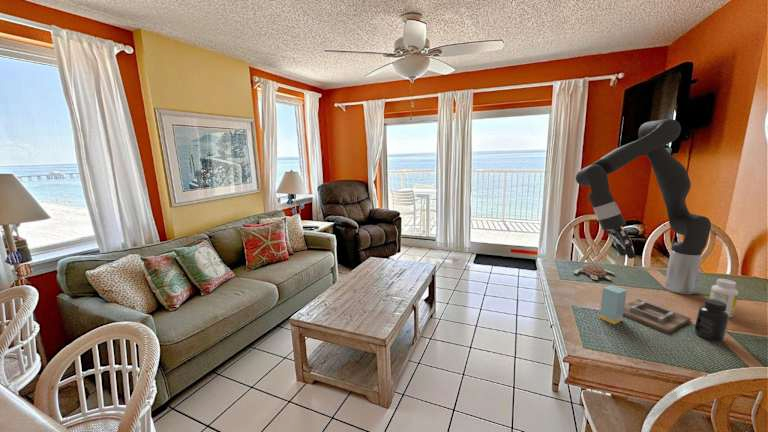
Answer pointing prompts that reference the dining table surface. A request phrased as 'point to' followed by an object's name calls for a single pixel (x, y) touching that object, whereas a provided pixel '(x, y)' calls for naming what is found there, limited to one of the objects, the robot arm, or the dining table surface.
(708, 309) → the supplement bottle
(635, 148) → the robot arm
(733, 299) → the supplement bottle
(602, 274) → the decorative turtle
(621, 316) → the peg
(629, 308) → the socket board
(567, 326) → the dining table surface
